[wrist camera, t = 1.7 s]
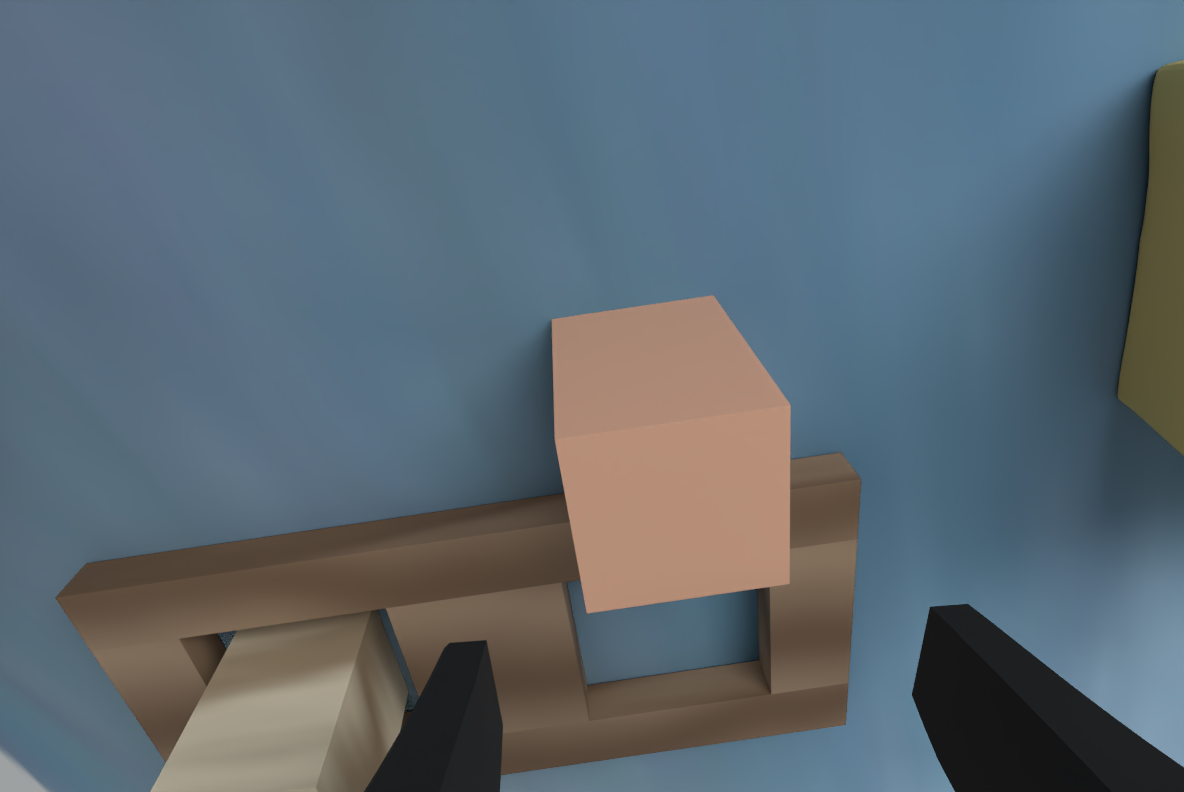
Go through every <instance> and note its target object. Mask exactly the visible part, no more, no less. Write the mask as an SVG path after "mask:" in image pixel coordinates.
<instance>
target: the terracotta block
mask: <svg viewBox="0 0 1184 792" xmlns="http://www.w3.org/2000/svg"><path fill="white" fill-rule="evenodd" d="M552 352H553V391H554V430H555V444H556V449H557V455H558V460H559V465H560V471H561V476H562V482H563V487H564V492H565V498H566V503H567V509H568V514H569V519H570V525H571V530H572V536H573V541H574V546H575V552H576V557H577V563H578V568H579V574H580V579H581V584H582V590H583V595H584V601H585V606H586V611H587V613H594V612H600V611H607V610H614V609H621V608H628V607H635V606H642V605H648V604H655V603H662V602H669V601H676V600H683V599H690V598H696V597H703V596H710V595H717V594H724V593H731V592H738V591H744V590H751V589H758V588H765V587H772V586H779V585H786V584H790V406H791V405H790V404H789V402H788V401H787V399H786V398H785V396H784V395H783V394H782V392H781V391H780V389H779V388H778V387H777V385H776V384H775V382H774V381H773V379H772V378H771V377H770V375H769V374H768V372H767V371H766V369H765V368H764V367H763V365H762V364H761V362H760V361H759V360H758V358H757V357H756V355H755V354H754V352H753V351H752V350H751V348H750V347H749V345H748V344H747V342H746V341H745V340H744V338H743V337H742V335H741V334H740V333H739V331H738V330H737V328H736V327H735V325H734V324H733V323H732V321H731V320H730V318H729V317H728V315H727V314H726V313H725V311H724V310H723V308H722V307H721V306H720V304H719V303H718V301H717V300H716V298H715V297H714V296H706V297H699V298H692V299H686V300H679V301H672V302H665V303H659V304H652V305H645V306H638V307H632V308H625V309H618V310H611V311H604V312H598V313H591V314H584V315H577V316H571V317H564V318H557V319H552Z"/></svg>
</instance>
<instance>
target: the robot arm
mask: <svg viewBox="0 0 1184 792" xmlns="http://www.w3.org/2000/svg"><path fill="white" fill-rule="evenodd" d="M912 696H913V699H914V702H915V704H916V707H917V709H918V712H919V714H920V717H921V719H922V722H923V724H924V727H925V730H926V732H927V734H928V737H929V739H930V741H931V744H932V746H933V749H934V751H935V753H936V756H937V758H938V760H939V762H940V764H941V766H942V768H943V770H944V772H945V774H946V776H947V777H948V779H949V781H950V783H951V785H952V787H953V789H954V790H955V792H1184V767H1182V766H1181V765H1179V764H1178V763H1177V762H1175V761H1174V760H1172V759H1171V758H1169V757H1168V756H1167V755H1165V754H1164V753H1162V752H1161V751H1159V750H1158V749H1157V748H1155V747H1154V746H1152V745H1151V744H1149V743H1148V742H1147V741H1145V740H1144V739H1143V738H1141V737H1140V736H1138V735H1137V734H1136V733H1134V732H1133V731H1132V730H1130V729H1129V728H1127V727H1126V726H1125V725H1123V724H1122V723H1121V722H1119V721H1118V720H1117V719H1115V718H1114V717H1113V716H1111V715H1110V714H1109V713H1107V712H1106V711H1105V710H1103V709H1102V708H1101V707H1099V706H1098V705H1097V704H1095V703H1094V702H1093V701H1091V700H1090V699H1089V698H1087V697H1086V696H1085V695H1083V694H1082V693H1081V692H1080V691H1078V690H1077V689H1076V688H1074V687H1073V686H1072V685H1070V684H1069V683H1068V682H1067V681H1065V680H1064V679H1063V678H1061V677H1060V676H1059V675H1058V674H1056V673H1055V672H1054V671H1052V670H1051V669H1050V668H1049V667H1047V666H1046V665H1045V664H1044V663H1042V662H1041V661H1040V660H1039V659H1037V658H1036V657H1035V656H1033V655H1032V654H1031V653H1030V652H1028V651H1027V650H1026V649H1025V648H1023V647H1022V646H1021V645H1020V644H1018V643H1017V642H1016V641H1015V640H1013V639H1012V638H1011V637H1010V636H1008V635H1007V634H1006V633H1004V632H1003V631H1002V630H1001V629H999V628H998V627H997V626H996V625H994V624H993V623H992V622H991V621H989V620H988V619H987V618H985V617H984V616H983V615H982V614H980V613H979V612H978V611H976V610H975V609H974V608H972V607H971V606H970V605H968V604H962V605H948V606H935V607H930V610H929V615H928V619H927V624H926V629H925V634H924V639H923V644H922V649H921V653H920V658H919V663H918V668H917V673H916V678H915V683H914V688H913V692H912ZM502 739H503V722H502V717H501V712H500V707H499V701H498V696H497V691H496V686H495V681H494V676H493V670H492V665H491V660H490V655H489V650H488V645H487V640H480V641H467V642H454V643H449V644H448V645H447V646H446V647H445V648H444V649H443V651H442V653H441V655H440V657H439V659H438V662H437V664H436V666H435V668H434V670H433V672H432V674H431V676H430V678H429V680H428V682H427V683H426V685H425V687H424V689H423V691H422V693H421V695H420V697H419V699H418V701H417V702H416V704H415V706H414V708H413V710H412V711H411V713H410V715H409V717H408V719H407V721H406V722H405V724H404V726H403V728H402V729H401V731H400V733H399V734H398V736H397V738H396V740H395V741H394V743H393V745H392V746H391V748H390V750H389V751H388V753H387V755H386V757H385V758H384V760H383V762H382V763H381V765H380V767H379V768H378V770H377V772H376V773H375V775H374V776H373V778H372V780H371V781H370V783H369V784H368V786H367V787H366V789H365V790H364V792H500V778H501V760H502Z"/></svg>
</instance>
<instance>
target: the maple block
mask: <svg viewBox="0 0 1184 792" xmlns="http://www.w3.org/2000/svg"><path fill="white" fill-rule="evenodd" d="M408 692H409V691H408V688H407V686H406V683H405V680H404V678H403V675H402V672H401V670H400V667H399V664H398V662H397V659H396V657H395V654H394V651H393V649H392V646H391V643H390V641H389V638H388V635H387V633H386V630H385V628H384V625H383V622H382V620H381V617H380V614H379V612H378V610H371V611H365V612H358V613H351V614H344V615H337V616H331V617H324V618H317V619H310V620H303V621H296V622H290V623H283V624H276V625H269V626H262V627H256V628H249V629H242V630H237V632H236V633H235V635H234V637H233V639H232V641H231V643H230V645H229V646H228V648H227V650H226V652H225V654H224V656H223V658H222V659H221V661H220V663H219V665H218V667H217V669H216V671H215V673H214V674H213V676H212V678H211V680H210V682H209V684H208V686H207V687H206V689H205V691H204V693H203V695H202V697H201V699H200V700H199V702H198V704H197V706H196V708H195V710H194V712H193V713H192V715H191V717H190V719H189V721H188V723H187V725H186V727H185V728H184V730H183V732H182V734H181V736H180V738H179V740H178V741H177V743H176V745H175V747H174V749H173V751H172V753H171V754H170V756H169V758H168V760H167V762H166V764H165V766H164V767H163V769H162V771H161V773H160V775H159V777H158V779H157V781H156V782H155V784H154V786H153V788H152V790H151V792H364V790H365V789H366V787H367V786H368V784H369V783H370V781H371V780H372V778H373V776H374V775H375V773H376V772H377V770H378V768H379V767H380V765H381V763H382V762H383V760H384V758H385V757H386V755H387V753H388V751H389V750H390V748H391V746H392V745H393V743H394V741H395V740H396V738H397V736H398V734H399V733H400V729H401V725H402V720H403V715H404V711H405V706H406V701H407V697H408Z"/></svg>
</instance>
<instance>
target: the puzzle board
mask: <svg viewBox="0 0 1184 792" xmlns="http://www.w3.org/2000/svg"><path fill="white" fill-rule="evenodd" d="M860 492H861V478H860V477H859V475H858V474H857V473H856V471H855V470H854V469H853V467H852V466H851V465H850V463H849V462H848V461H847V460H846V458H845V457H844V456H843V454H842V453H841V452H840V453H833V454H826V455H819V456H813V457H806V458H799V459H792V460H790V584H786V585H779V586H772V587H765V588H758V589H757V593H758V632H759V660H757V661H750V662H744V663H737V664H730V665H723V666H716V667H709V668H702V669H696V670H689V671H682V672H675V673H668V674H661V675H655V676H648V677H641V678H634V679H627V680H620V681H614V682H607V683H600V684H593V685H587V683H586V677H585V672H584V667H583V662H582V657H581V652H580V647H579V642H578V637H577V632H576V627H575V622H574V617H573V612H572V607H571V602H570V597H569V592H568V587H567V582H569V581H576V580H581V579H580V574H579V568H578V563H577V557H576V552H575V546H574V541H573V536H572V530H571V525H570V519H569V514H568V509H567V503H566V498H565V493H561V494H555V495H548V496H541V497H534V498H527V499H521V500H514V501H507V502H500V503H493V504H487V505H480V506H473V507H466V508H460V509H453V510H446V511H439V512H432V513H426V514H419V515H412V516H405V517H398V518H392V519H385V520H378V521H371V522H364V523H358V524H351V525H344V526H337V527H331V528H324V529H317V530H310V531H303V532H297V533H290V534H283V535H276V536H269V537H263V538H256V539H249V540H242V541H235V542H229V543H222V544H215V545H208V546H202V547H195V548H188V549H181V550H174V551H168V552H161V553H154V554H147V555H140V556H134V557H127V558H120V559H113V560H106V561H100V562H93V563H86V564H85V565H84V567H83V568H82V569H81V570H80V571H79V572H78V573H77V574H76V575H75V577H74V578H73V579H72V580H71V581H70V582H69V583H68V584H67V585H66V586H65V588H64V589H63V590H62V591H61V592H60V593H59V594H58V595H57V596H56V597H55V598H56V600H57V601H58V603H59V604H60V606H61V607H62V609H63V610H64V612H65V613H66V615H67V616H68V618H69V619H70V621H71V622H72V623H73V625H74V626H75V628H76V629H77V631H78V632H79V634H80V635H81V637H82V638H83V640H84V641H85V643H86V644H87V646H88V647H89V649H90V650H91V652H92V653H93V655H94V656H95V658H96V659H97V661H98V662H99V664H100V665H101V667H102V668H103V670H104V671H105V673H106V674H107V676H108V677H109V679H110V680H111V682H112V683H113V685H114V686H115V687H116V689H117V690H118V692H119V693H120V695H121V696H122V698H123V699H124V701H125V702H126V704H127V705H128V707H129V708H130V710H131V711H132V713H133V714H134V716H135V717H136V719H137V720H138V722H139V723H140V725H141V726H142V728H143V729H144V731H145V732H146V734H147V735H148V737H149V738H150V740H151V741H152V743H153V744H154V746H155V747H156V749H157V750H158V751H159V753H160V754H161V756H162V757H163V759H164V760H165V762H167V760H168V758H169V756H170V754H171V753H172V751H173V749H174V747H175V745H176V743H177V741H178V740H179V738H180V736H181V734H182V732H183V730H184V728H185V727H186V725H187V723H188V721H189V719H190V717H191V715H192V713H193V712H194V710H195V708H196V706H197V704H198V702H199V700H200V699H201V697H202V695H203V693H204V691H205V689H206V687H207V686H208V684H209V682H210V680H211V678H212V676H213V674H214V673H215V671H216V669H217V667H218V665H219V663H220V661H221V659H222V658H223V656H224V654H225V652H226V649H225V647H224V645H223V643H222V642H221V640H220V638H219V636H218V634H217V633H221V632H228V631H235V630H242V629H249V628H256V627H262V626H269V625H276V624H283V623H290V622H296V621H303V620H310V619H317V618H324V617H331V616H337V615H344V614H351V613H358V612H365V611H371V610H378V609H385V608H386V610H387V613H388V616H389V618H390V621H391V624H392V626H393V629H394V632H395V634H396V637H397V640H398V643H399V645H400V648H401V651H402V653H403V656H404V659H405V661H406V664H407V667H408V669H409V672H410V675H411V678H412V680H413V683H414V686H415V688H416V691H417V694H418V696H419V697H420V695H421V693H422V691H423V689H424V687H425V685H426V683H427V682H428V680H429V678H430V676H431V674H432V672H433V670H434V668H435V666H436V664H437V662H438V659H439V657H440V655H441V653H442V651H443V649H444V648H445V647H446V646H447V645H448V644H449V643H454V642H467V641H480V640H487V645H488V650H489V655H490V660H491V665H492V670H493V676H494V681H495V686H496V691H497V696H498V701H499V707H500V712H501V717H502V722H503V739H502V760H501V775H505V774H512V773H518V772H525V771H532V770H539V769H546V768H553V767H560V766H566V765H573V764H580V763H587V762H594V761H601V760H608V759H615V758H621V757H628V756H635V755H642V754H649V753H656V752H663V751H669V750H676V749H683V748H690V747H697V746H704V745H711V744H718V743H724V742H731V741H738V740H745V739H752V738H759V737H766V736H772V735H779V734H786V733H793V732H800V731H807V730H814V729H821V728H827V727H834V726H841V725H846V713H847V698H848V682H849V666H850V650H851V634H852V618H853V603H854V587H855V571H856V555H857V539H858V523H859V508H860ZM410 713H411V711H408V712H404V715H403V720H402V725H401V729H402V728H403V726H404V724H405V722H406V721H407V719H408V717H409V715H410ZM401 729H400V731H401Z"/></svg>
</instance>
